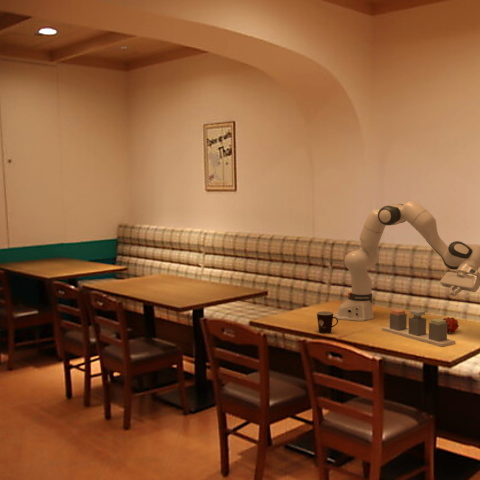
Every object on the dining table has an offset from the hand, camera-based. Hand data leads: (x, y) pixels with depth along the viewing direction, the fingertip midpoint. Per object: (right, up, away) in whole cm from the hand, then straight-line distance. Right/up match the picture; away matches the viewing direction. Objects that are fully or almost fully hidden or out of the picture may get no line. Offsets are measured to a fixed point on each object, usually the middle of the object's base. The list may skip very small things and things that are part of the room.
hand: (452, 294), depth 303 cm
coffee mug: (-59, -22, +19) cm, 66 cm away
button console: (-15, -22, +8) cm, 28 cm away
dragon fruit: (+4, -21, +16) cm, 26 cm away
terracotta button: (-22, -14, +17) cm, 32 cm away
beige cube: (-15, -13, +7) cm, 21 cm away
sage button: (-8, -16, -4) cm, 19 cm away
